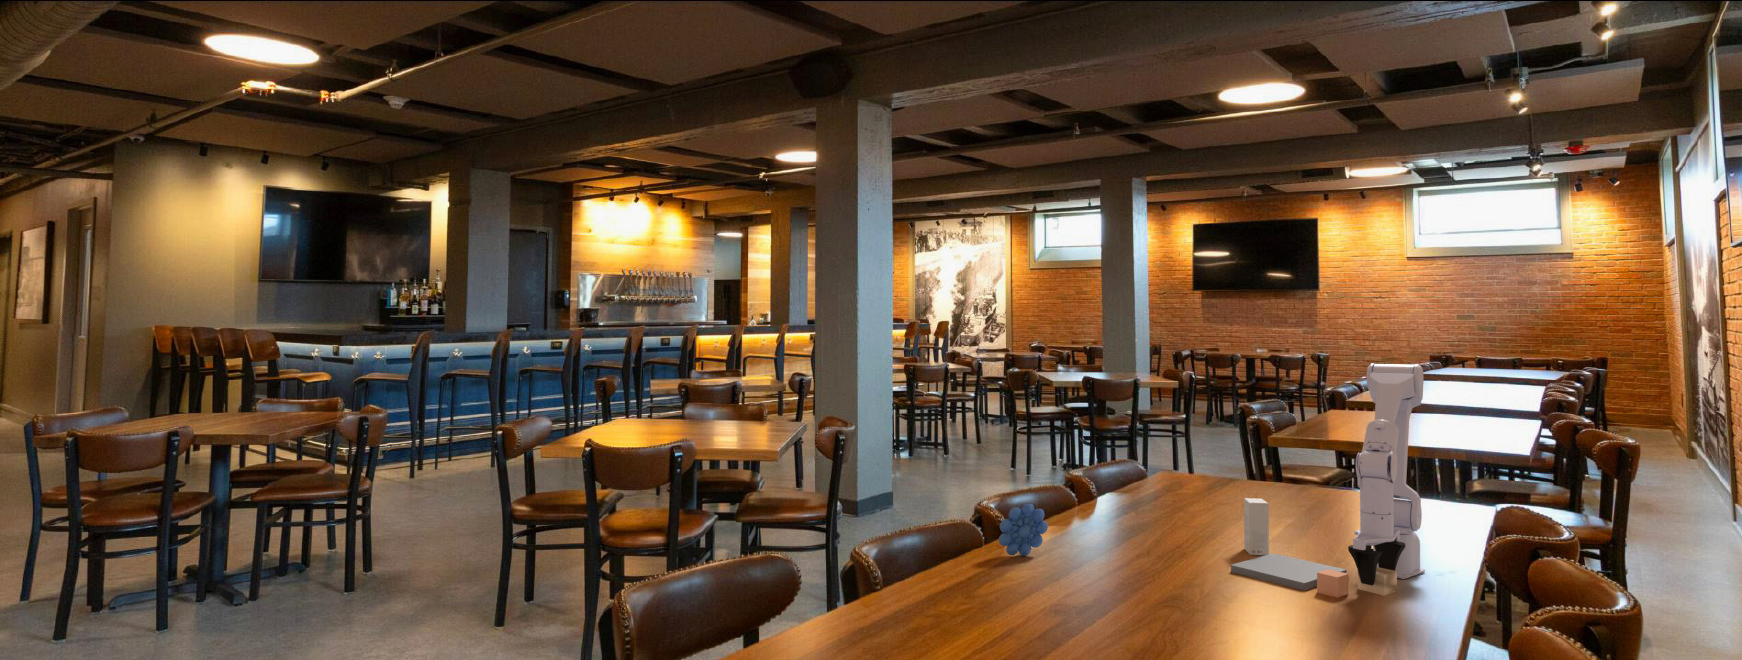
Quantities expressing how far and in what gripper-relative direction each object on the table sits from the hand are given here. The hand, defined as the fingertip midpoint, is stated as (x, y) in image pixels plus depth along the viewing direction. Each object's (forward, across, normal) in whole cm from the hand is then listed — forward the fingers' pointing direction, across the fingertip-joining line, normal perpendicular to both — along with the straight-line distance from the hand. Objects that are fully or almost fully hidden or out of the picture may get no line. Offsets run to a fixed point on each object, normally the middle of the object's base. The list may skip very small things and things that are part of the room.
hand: (1377, 580), depth 169 cm
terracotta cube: (+2, +9, -4) cm, 10 cm away
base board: (+2, +4, -16) cm, 17 cm away
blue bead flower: (+2, +38, -60) cm, 71 cm away
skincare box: (+2, -7, -30) cm, 31 cm away
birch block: (+2, 0, 0) cm, 2 cm away
